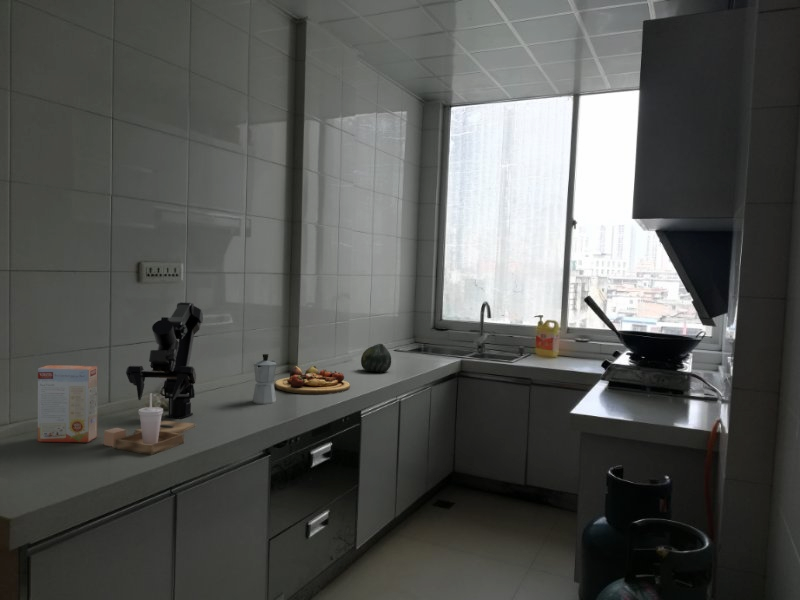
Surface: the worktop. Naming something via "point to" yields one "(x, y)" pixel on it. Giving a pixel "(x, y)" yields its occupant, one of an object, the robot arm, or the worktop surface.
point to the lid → (173, 427)
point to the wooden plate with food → (313, 382)
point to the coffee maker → (264, 381)
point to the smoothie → (150, 423)
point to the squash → (376, 358)
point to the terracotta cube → (113, 436)
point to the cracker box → (67, 403)
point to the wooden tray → (137, 445)
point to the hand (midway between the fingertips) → (156, 399)
